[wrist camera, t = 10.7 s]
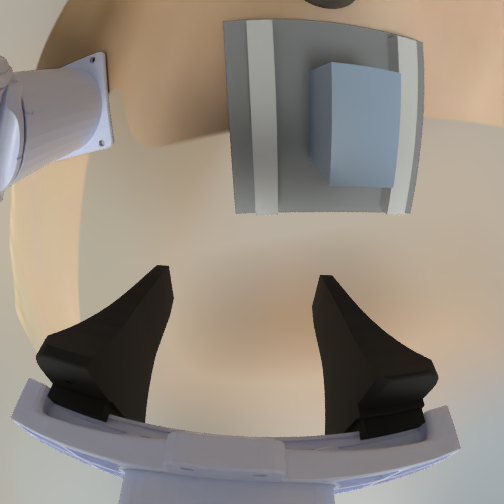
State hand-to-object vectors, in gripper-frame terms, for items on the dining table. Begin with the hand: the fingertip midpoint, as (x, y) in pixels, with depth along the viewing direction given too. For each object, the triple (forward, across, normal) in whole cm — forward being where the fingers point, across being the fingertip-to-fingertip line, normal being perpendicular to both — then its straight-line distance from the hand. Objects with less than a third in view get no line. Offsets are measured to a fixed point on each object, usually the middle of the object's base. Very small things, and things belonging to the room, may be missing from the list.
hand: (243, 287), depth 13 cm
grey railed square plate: (+9, -5, -8) cm, 13 cm away
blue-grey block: (+8, -5, -8) cm, 13 cm away
